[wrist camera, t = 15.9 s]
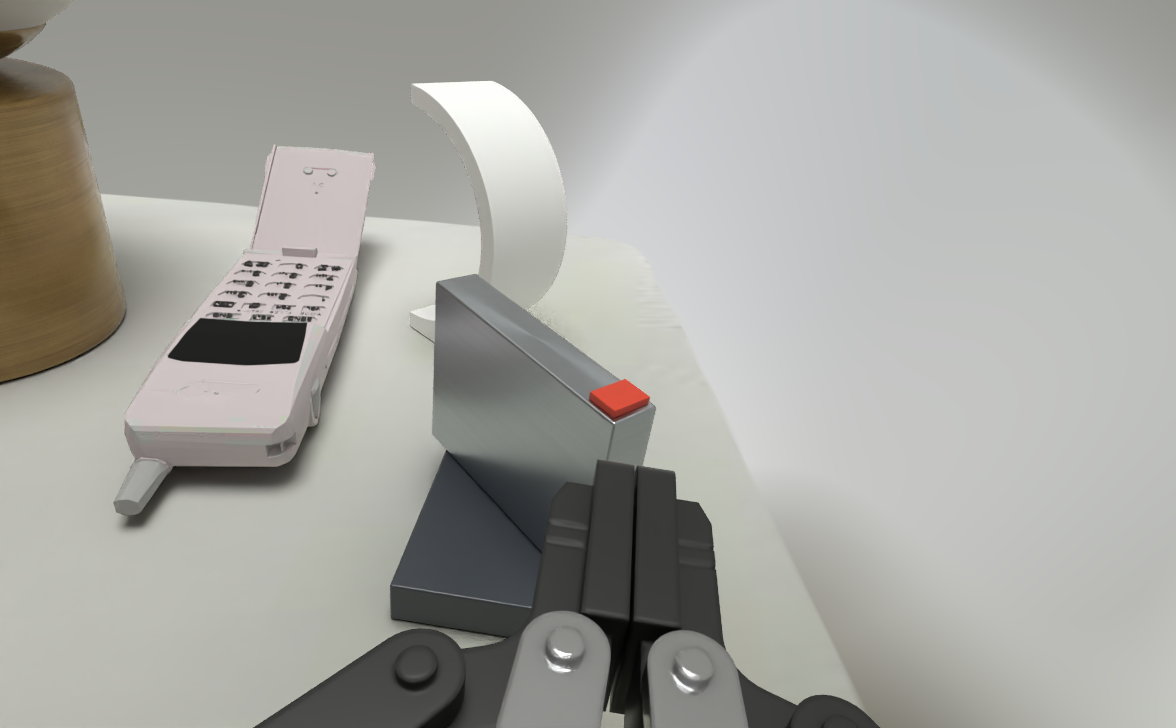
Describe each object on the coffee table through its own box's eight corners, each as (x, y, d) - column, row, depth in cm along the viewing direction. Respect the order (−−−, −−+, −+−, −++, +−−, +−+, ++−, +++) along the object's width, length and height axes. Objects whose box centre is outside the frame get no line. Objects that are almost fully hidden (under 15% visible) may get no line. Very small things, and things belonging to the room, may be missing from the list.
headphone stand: (477, 303, 39) (492, 80, 33) (551, 349, 36) (583, 113, 30) (408, 325, 36) (410, 83, 30) (484, 378, 33) (503, 119, 26)
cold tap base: (389, 618, 21) (389, 585, 20) (460, 439, 29) (462, 410, 28) (583, 650, 21) (590, 618, 20) (602, 462, 29) (607, 434, 28)
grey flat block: (431, 434, 26) (435, 274, 23) (467, 421, 27) (476, 266, 24) (580, 594, 21) (615, 416, 17) (618, 571, 22) (659, 399, 18)
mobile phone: (378, 150, 41) (270, 378, 20) (381, 242, 44) (291, 524, 23) (271, 141, 40) (41, 371, 19) (282, 236, 43) (94, 525, 22)
